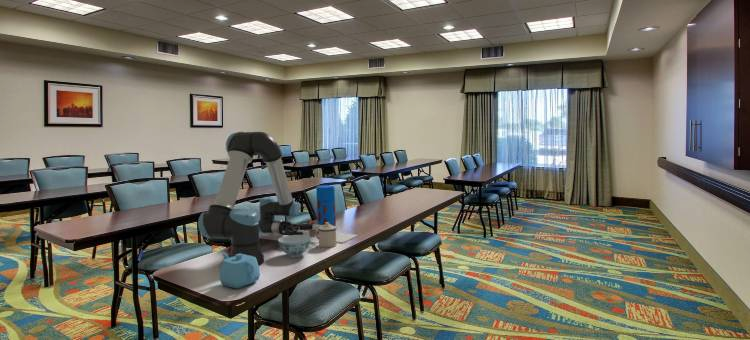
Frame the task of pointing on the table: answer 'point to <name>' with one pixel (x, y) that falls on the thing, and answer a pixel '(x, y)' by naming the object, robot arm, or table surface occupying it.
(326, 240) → the teacup with lid
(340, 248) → the table surface
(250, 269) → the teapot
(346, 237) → the mat
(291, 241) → the chinaware
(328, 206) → the blue tall box
